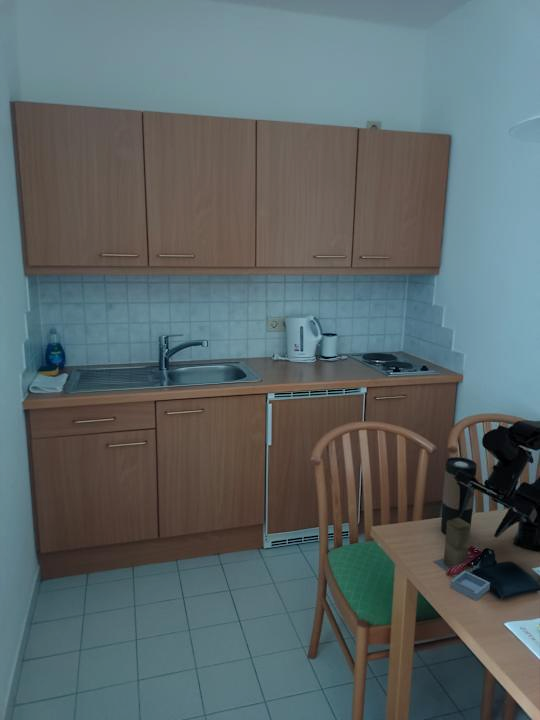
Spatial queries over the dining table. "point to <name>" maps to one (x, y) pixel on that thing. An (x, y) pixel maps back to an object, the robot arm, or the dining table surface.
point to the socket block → (470, 585)
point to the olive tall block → (456, 542)
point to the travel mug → (456, 491)
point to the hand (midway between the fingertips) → (476, 526)
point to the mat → (446, 568)
